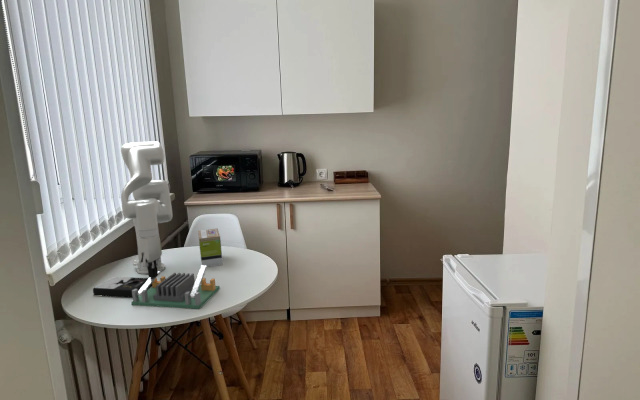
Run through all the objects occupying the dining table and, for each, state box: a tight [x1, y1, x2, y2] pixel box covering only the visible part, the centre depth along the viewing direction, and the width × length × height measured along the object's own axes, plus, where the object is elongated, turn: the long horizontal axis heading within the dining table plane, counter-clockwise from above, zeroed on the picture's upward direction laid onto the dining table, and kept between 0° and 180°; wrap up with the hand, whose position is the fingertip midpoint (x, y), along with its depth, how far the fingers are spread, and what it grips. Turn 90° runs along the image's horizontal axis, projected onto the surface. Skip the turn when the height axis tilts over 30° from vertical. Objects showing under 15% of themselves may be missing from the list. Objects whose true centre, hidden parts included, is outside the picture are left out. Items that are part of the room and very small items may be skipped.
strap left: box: [136, 271, 161, 296], centre depth 174 cm, size 2×15×1 cm, turn 169°
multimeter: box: [92, 276, 152, 299], centre depth 182 cm, size 13×19×5 cm
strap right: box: [189, 264, 208, 299], centre depth 169 cm, size 2×15×1 cm
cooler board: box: [131, 272, 221, 310], centre depth 174 cm, size 28×19×7 cm
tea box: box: [197, 228, 223, 268], centre depth 213 cm, size 15×10×15 cm
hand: (153, 276), depth 176 cm, fingers closed
